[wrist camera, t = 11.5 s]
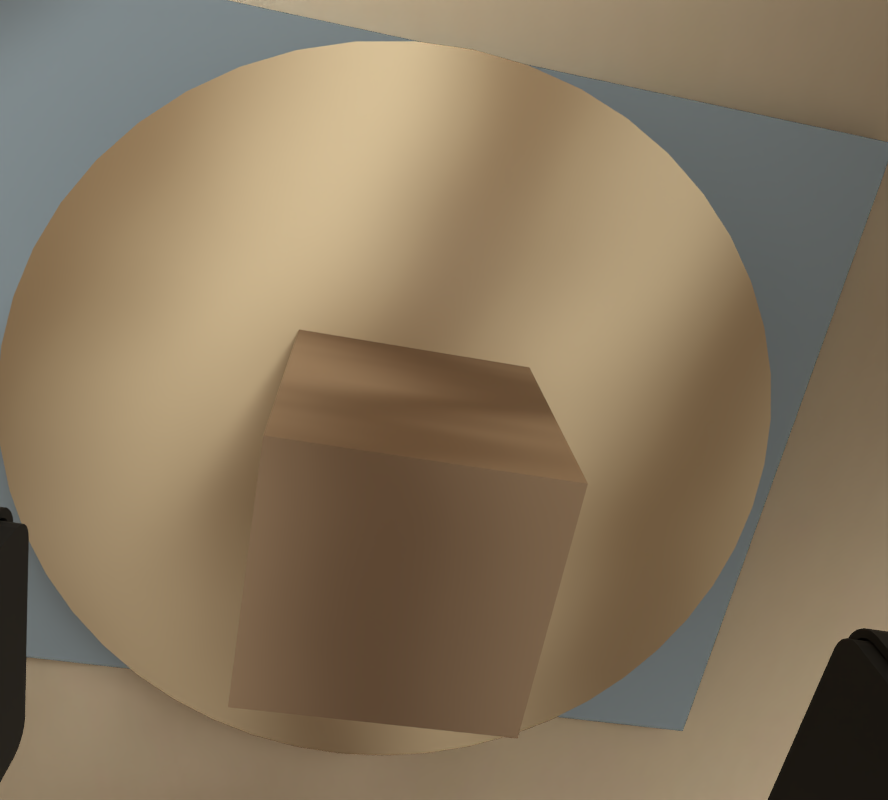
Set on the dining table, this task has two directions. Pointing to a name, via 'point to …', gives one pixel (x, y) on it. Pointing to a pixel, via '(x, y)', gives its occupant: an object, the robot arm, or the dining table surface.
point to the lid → (384, 398)
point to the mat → (274, 33)
